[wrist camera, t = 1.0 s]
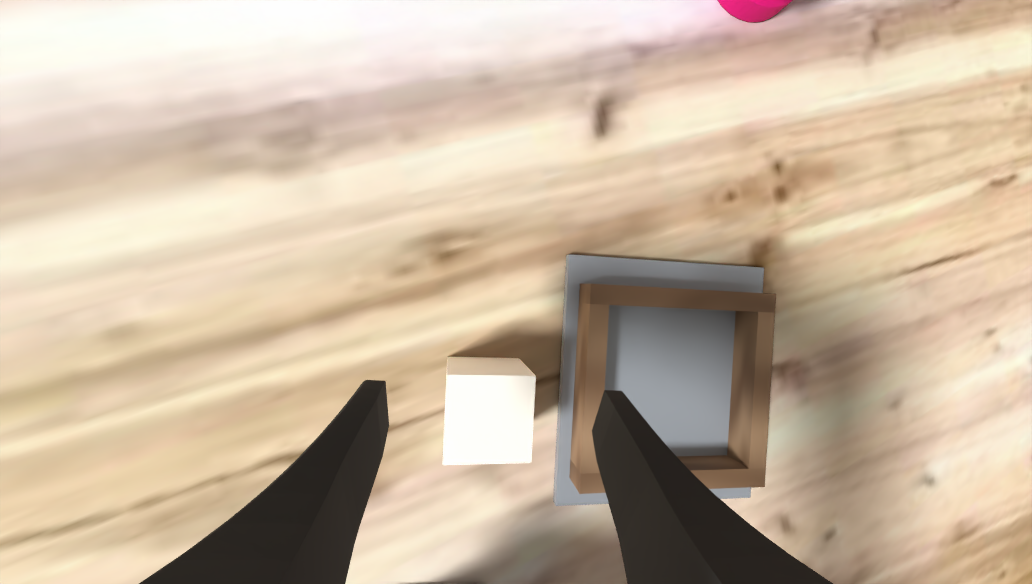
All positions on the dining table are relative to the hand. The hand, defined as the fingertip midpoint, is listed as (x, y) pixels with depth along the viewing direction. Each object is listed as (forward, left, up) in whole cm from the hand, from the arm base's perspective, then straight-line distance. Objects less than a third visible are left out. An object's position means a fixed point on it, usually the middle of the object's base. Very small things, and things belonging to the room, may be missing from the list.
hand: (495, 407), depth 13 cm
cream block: (-3, -1, -12) cm, 12 cm away
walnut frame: (-2, -13, -12) cm, 17 cm away
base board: (-2, -13, -12) cm, 17 cm away
